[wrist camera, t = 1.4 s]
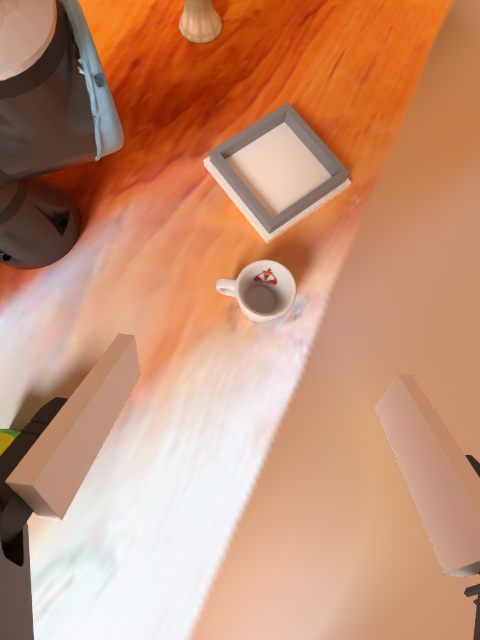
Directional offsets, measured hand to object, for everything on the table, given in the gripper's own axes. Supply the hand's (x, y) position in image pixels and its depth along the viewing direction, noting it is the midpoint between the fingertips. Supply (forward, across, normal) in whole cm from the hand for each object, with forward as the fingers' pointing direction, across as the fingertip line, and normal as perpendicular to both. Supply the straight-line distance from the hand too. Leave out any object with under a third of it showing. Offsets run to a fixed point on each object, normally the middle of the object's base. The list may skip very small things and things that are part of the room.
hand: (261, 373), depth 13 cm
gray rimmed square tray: (+41, +1, +5) cm, 42 cm away
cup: (+26, 0, -11) cm, 28 cm away
